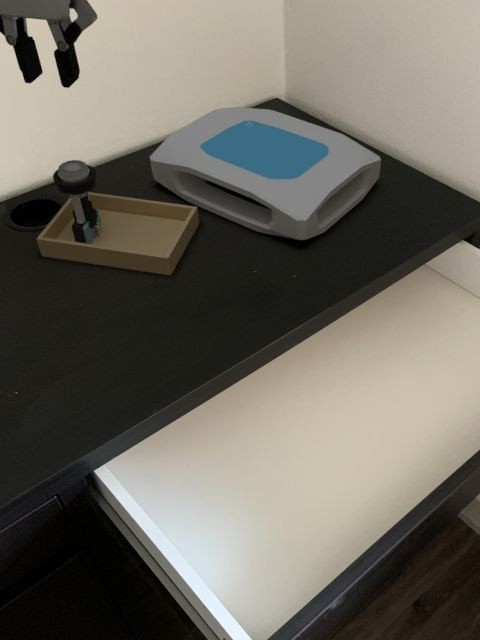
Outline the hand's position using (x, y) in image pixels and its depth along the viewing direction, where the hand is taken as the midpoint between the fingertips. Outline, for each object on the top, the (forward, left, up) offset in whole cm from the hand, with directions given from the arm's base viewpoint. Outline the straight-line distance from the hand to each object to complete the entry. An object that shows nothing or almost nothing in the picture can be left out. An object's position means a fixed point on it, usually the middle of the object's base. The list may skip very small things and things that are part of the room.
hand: (52, 78), depth 76 cm
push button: (0, 0, -21) cm, 21 cm away
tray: (+5, 0, -21) cm, 22 cm away
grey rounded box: (+21, +18, -21) cm, 35 cm away
